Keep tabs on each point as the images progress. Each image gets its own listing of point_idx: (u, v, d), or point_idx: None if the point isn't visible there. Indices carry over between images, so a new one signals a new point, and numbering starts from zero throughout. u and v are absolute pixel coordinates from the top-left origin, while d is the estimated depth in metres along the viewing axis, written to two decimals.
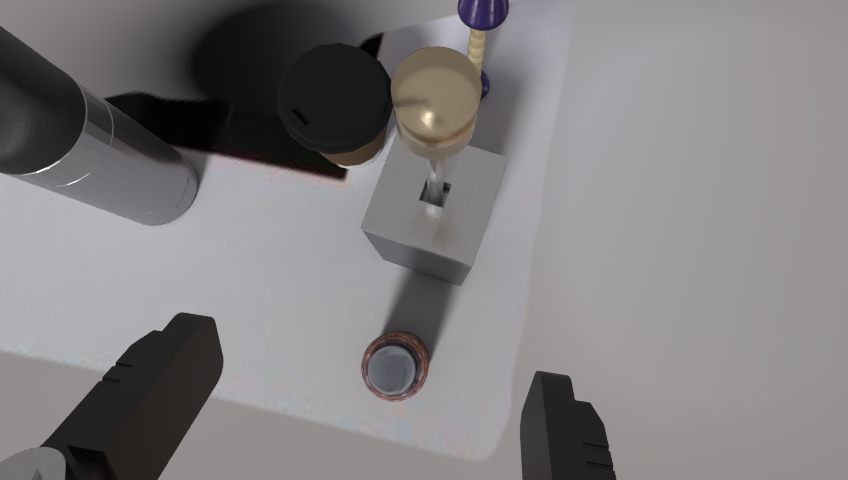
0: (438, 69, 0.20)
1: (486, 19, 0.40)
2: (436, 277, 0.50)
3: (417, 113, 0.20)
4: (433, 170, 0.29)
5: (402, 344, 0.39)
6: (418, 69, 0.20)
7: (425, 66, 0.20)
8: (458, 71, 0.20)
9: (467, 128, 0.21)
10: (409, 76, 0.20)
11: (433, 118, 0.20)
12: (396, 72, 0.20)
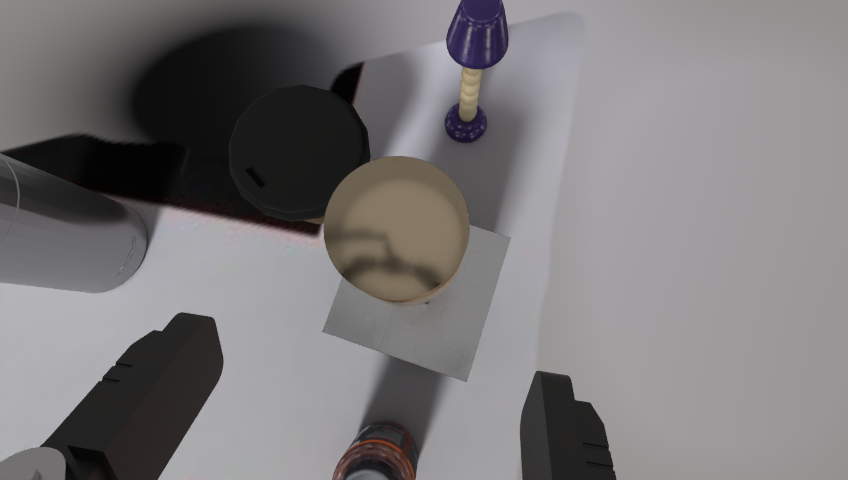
0: (399, 195, 0.13)
1: (481, 56, 0.33)
2: None
3: (365, 270, 0.12)
4: None
5: (381, 461, 0.32)
6: (368, 194, 0.13)
7: (379, 189, 0.13)
8: (431, 198, 0.13)
9: (448, 280, 0.13)
10: (354, 206, 0.13)
11: (391, 278, 0.12)
12: (333, 200, 0.13)
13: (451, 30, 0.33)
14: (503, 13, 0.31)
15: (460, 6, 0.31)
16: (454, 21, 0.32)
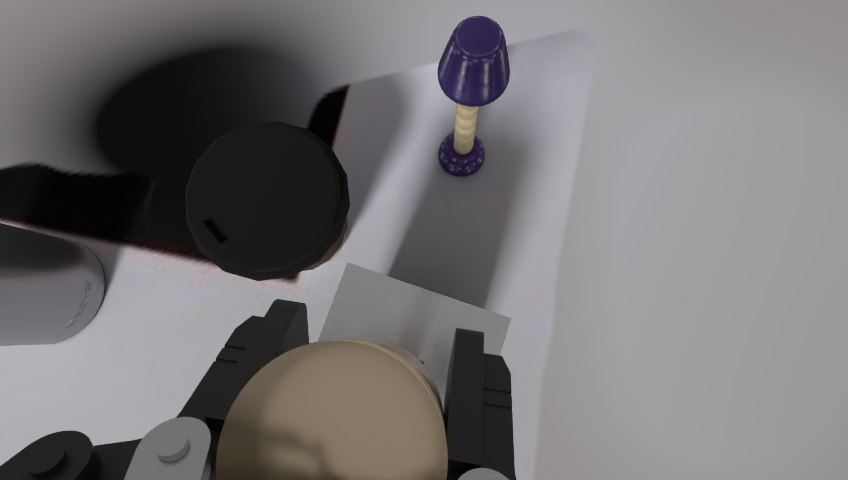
0: (337, 407, 0.08)
1: (478, 93, 0.28)
2: None
3: None
4: None
5: None
6: (289, 405, 0.08)
7: (307, 397, 0.08)
8: (388, 412, 0.08)
9: None
10: (265, 426, 0.08)
11: None
12: (233, 414, 0.08)
13: (443, 62, 0.28)
14: (504, 45, 0.26)
15: (453, 36, 0.26)
16: (446, 53, 0.27)
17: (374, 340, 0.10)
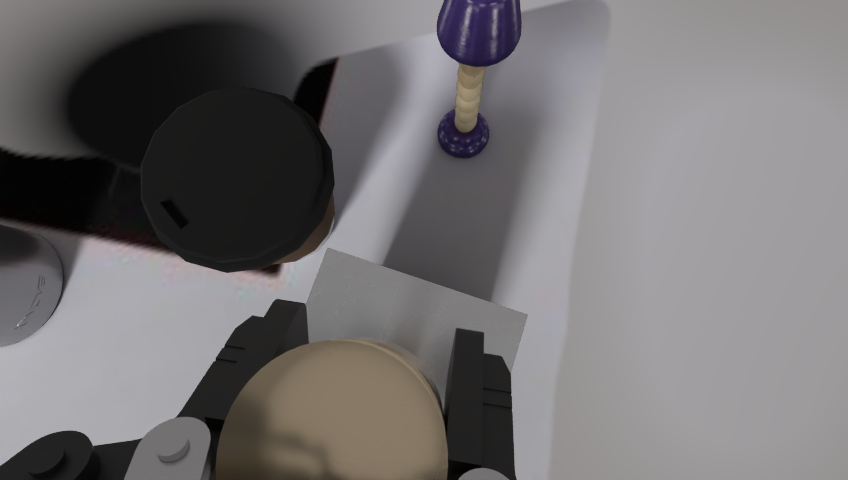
0: (337, 407, 0.08)
1: (484, 49, 0.24)
2: None
3: None
4: None
5: None
6: (288, 405, 0.08)
7: (306, 397, 0.08)
8: (389, 412, 0.08)
9: None
10: (265, 426, 0.08)
11: None
12: (233, 414, 0.08)
13: (443, 12, 0.24)
14: None
15: None
16: None
17: (374, 340, 0.10)
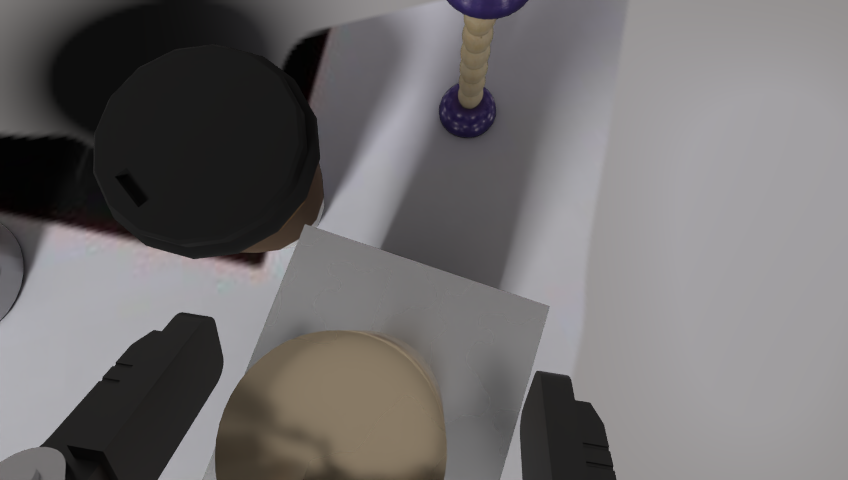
0: (337, 396, 0.08)
1: None
2: None
3: None
4: None
5: None
6: (288, 395, 0.08)
7: (306, 386, 0.08)
8: (387, 402, 0.08)
9: None
10: (264, 415, 0.08)
11: None
12: (232, 403, 0.08)
13: None
14: None
15: None
16: None
17: (373, 332, 0.10)
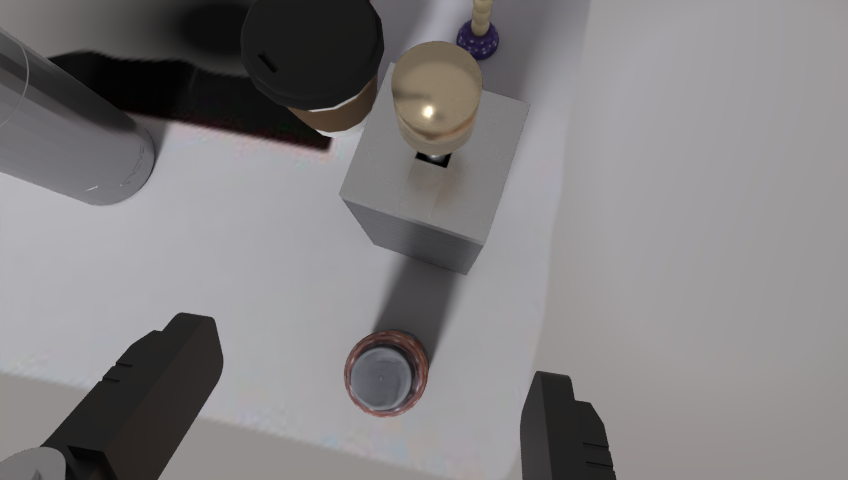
0: (438, 64, 0.20)
1: None
2: (437, 265, 0.42)
3: (418, 108, 0.20)
4: None
5: (395, 345, 0.31)
6: (418, 64, 0.20)
7: (425, 61, 0.20)
8: (458, 66, 0.20)
9: (468, 123, 0.21)
10: (409, 71, 0.20)
11: (434, 113, 0.20)
12: (396, 67, 0.20)
13: None
14: None
15: None
16: None
17: None
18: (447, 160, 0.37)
